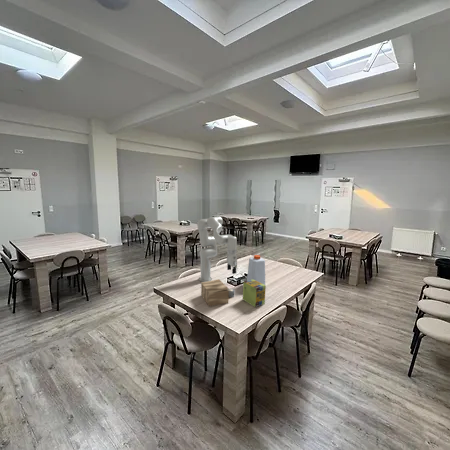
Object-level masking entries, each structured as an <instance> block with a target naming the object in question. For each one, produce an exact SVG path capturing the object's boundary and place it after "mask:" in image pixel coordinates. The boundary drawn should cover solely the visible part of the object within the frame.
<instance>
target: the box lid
mask: <svg viewBox="0 0 450 450" xmlns="http://www.w3.org/2000/svg"><path fill="white" fill-rule="evenodd" d="M201 284H202V285H203V286H204V287H205V289H206V290H207V291H208V292H209V293H214V292H218V291H223V290H228V289H230V288H229V287H228V286H227V285H226V284H225V283H224V282H222V280H221V279H212V280H211V281H208V282H201ZM201 284H200V285H201Z"/></svg>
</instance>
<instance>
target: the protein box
mask: <svg viewBox="0 0 450 450" xmlns="http://www.w3.org/2000/svg"><path fill="white" fill-rule="evenodd" d="M242 284H243V286H242V288H243V289H242V300H243V301H244V302H246V303H248V304H250V305H251V306H253V307H254V308H257V307H260V306H263V305H265V303H266V284H265V285H264V284H262V283H260V282H258V281H255V280H253V279H252V280H249V281H247V280H245V281H243V283H242Z"/></svg>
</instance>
